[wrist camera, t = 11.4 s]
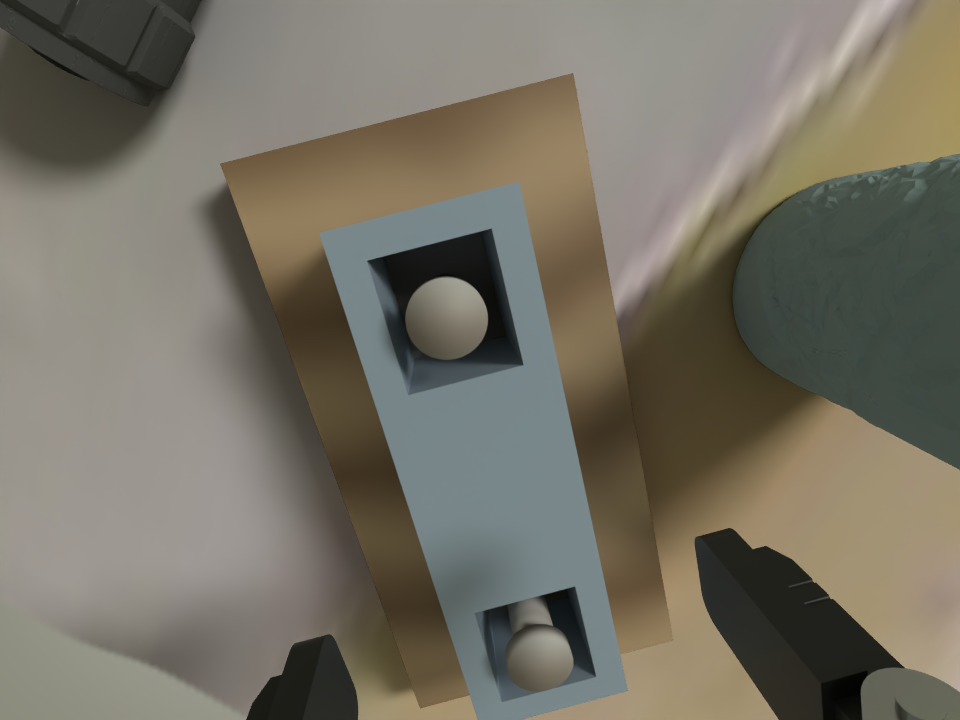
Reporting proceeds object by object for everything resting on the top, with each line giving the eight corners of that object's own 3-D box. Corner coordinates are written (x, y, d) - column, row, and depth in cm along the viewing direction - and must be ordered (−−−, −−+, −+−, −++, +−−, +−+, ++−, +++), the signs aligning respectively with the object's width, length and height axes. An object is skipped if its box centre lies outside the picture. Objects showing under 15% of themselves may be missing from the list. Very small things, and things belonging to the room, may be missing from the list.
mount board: (242, 169, 19) (131, 140, 12) (559, 88, 19) (627, 13, 12) (421, 670, 25) (415, 835, 18) (655, 608, 25) (734, 748, 19)
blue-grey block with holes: (345, 230, 17) (319, 233, 13) (501, 190, 17) (519, 181, 14) (473, 642, 22) (481, 730, 18) (595, 610, 22) (627, 690, 18)
